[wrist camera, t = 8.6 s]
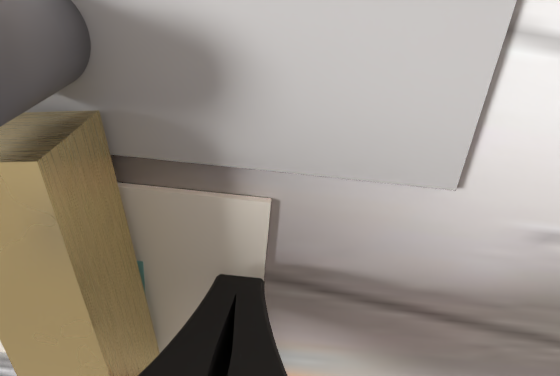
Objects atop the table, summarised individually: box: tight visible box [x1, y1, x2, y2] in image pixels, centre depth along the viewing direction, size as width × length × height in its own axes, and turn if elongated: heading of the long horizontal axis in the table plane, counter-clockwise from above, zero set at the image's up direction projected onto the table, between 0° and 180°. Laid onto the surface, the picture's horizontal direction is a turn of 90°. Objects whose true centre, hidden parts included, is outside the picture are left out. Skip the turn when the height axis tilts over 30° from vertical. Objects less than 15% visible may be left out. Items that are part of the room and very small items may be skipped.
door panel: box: [0, 0, 517, 353], centre depth 11 cm, size 16×14×4 cm
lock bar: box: [0, 110, 160, 376], centre depth 12 cm, size 9×2×3 cm, turn 3°
